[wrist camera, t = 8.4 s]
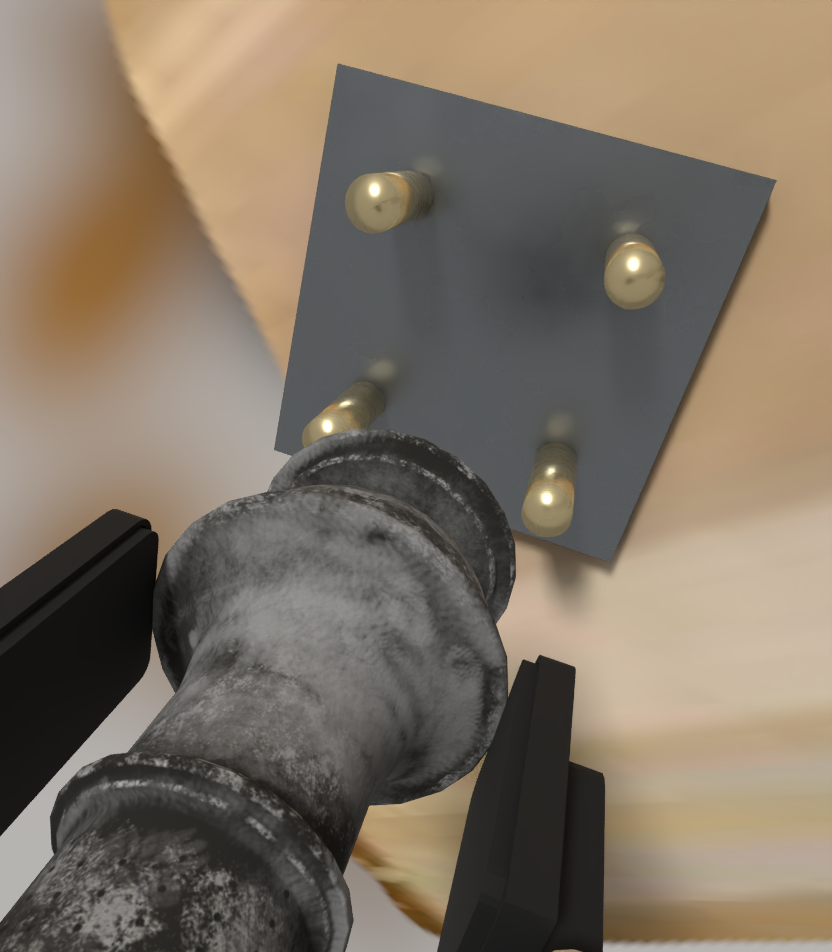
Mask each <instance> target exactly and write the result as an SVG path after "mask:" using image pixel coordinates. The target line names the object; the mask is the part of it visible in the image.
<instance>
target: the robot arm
mask: <svg viewBox="0 0 832 952" xmlns="http://www.w3.org/2000/svg"><path fill="white" fill-rule="evenodd" d="M157 554H158V534H157V533H156V532H154V531H151V524H150V522H149V521H148V520H147V519H144V518H141V517H138V516H135V515H132V514H129V513H127V512H124V511H121V510H118V509H112V510H110V511H108V512H107V513H105V514H104V515H102V516H101V517H99V518H98V519H97V520H95V521H94V522H92V523H91V524H90V525H89V526H87V527H86V528H84V529H83V530H81V531H80V532H78V533H77V534H76V535H74V536H73V537H71V538H70V539H69V540H67V541H66V542H64V543H63V544H62V545H60V546H59V547H57V548H56V549H55V550H53V551H52V552H50V553H49V554H47V555H46V556H45V557H43V558H42V559H41V560H39V561H38V562H36V563H35V564H34V565H32V566H31V567H29V568H28V569H26V570H25V571H24V572H22V573H21V574H19V575H18V576H16V577H15V578H14V579H12V580H11V581H9V582H8V583H7V584H5V585H4V586H3V587H1V588H0V836H1V835H2V834H3V833H4V831H5V830H6V829H7V828H8V827H9V826H10V825H11V824H12V823H13V821H14V820H15V819H16V818H17V817H18V816H19V815H20V814H21V812H22V811H23V810H24V809H25V808H26V807H27V806H28V805H29V803H30V802H31V801H32V800H33V799H34V798H35V797H36V796H37V795H38V793H39V792H40V791H41V790H42V789H43V788H44V787H45V785H46V784H47V783H48V782H49V781H50V780H51V779H52V778H53V777H54V776H55V775H56V773H57V772H58V771H59V770H60V769H61V768H62V767H63V765H64V764H65V763H66V762H67V761H68V760H69V759H70V757H72V755H73V754H74V753H75V752H76V751H77V750H78V749H79V748H80V747H81V745H82V744H83V743H84V742H85V741H86V740H87V739H88V738H89V737H90V735H91V734H92V733H93V732H94V731H95V730H96V729H97V728H98V727H99V725H100V724H101V723H102V722H103V721H104V720H105V718H107V716H108V715H109V714H110V713H111V712H112V711H113V710H114V709H115V708H116V706H117V705H118V704H119V703H120V702H121V701H122V700H123V699H124V697H125V696H126V695H127V694H128V693H129V692H130V691H131V690H132V688H133V687H134V686H135V685H136V684H137V683H138V682H139V681H140V679H141V678H142V677H143V675H144V673H145V671H146V669H147V667H148V664H149V660H150V653H151V652H150V651H151V638H152V615H153V592H154V587H155V583H156V569H157ZM575 674H576V669H575V667H573V666H570V665H568V664H565V663H562V662H559V661H556V660H553V659H550V658H547V657H544V656H542V655H539V657H538V658H537V660H536V663H532V662H529V661H526V660H523V661H522V663H521V665H520V668H519V670H518V673H517V676H516V678H515V681H514V684H513V686H512V689H511V691H510V694H509V697H508V699H507V702H506V705H505V708H504V711H503V713H502V716H501V719H500V721H499V724H498V727H497V729H496V732H495V735H494V738H493V740H492V743H491V745H490V747H489V750H488V752H487V755H486V757H485V760H484V763H483V765H482V768H481V771H480V773H479V776H478V779H477V781H476V784H475V787H474V791H473V794H472V798H471V802H470V806H469V811H468V815H467V820H466V824H465V829H464V833H463V838H462V842H461V847H460V851H459V856H458V860H457V865H456V869H455V874H454V878H453V883H452V887H451V892H450V896H449V901H448V905H447V910H446V914H445V919H444V923H443V928H442V932H441V937H440V941H439V946H438V950H437V952H603V895H604V826H605V779H604V776H603V773H600V772H597V771H595V770H592V769H589V768H586V767H584V766H581V765H578V764H575V763H573V762H570V761H569V755H570V741H571V728H572V715H573V701H574V688H575Z"/></svg>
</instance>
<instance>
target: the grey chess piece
mask: <svg viewBox="0 0 832 952" xmlns="http://www.w3.org/2000/svg"><path fill="white" fill-rule="evenodd" d="M515 578H516V559H515V543H514V540H513V536H512V533H511V530H510V527H509V524H508V521H507V518H506V514H505V512H504V511H503V509H502V507H501V506H500V504H499V503H498V501H497V500H496V498H495V497H494V495H493V494H492V492H491V491H490V489H489V487H488V486H487V484H486V483H485V482H484V481H483V480H482V479H481V478H480V477H479V476H478V475H477V474H475V473H474V472H473V471H472V470H471V469H470V468H469V467H468V466H467V465H466V464H465V463H464V462H462V461H461V460H460V459H459V458H458V457H456V456H455V455H453V454H451V453H449V452H447V451H445V450H444V449H442V448H440V447H438V446H436V445H435V444H433V443H431V442H429V441H427V440H426V439H423V438H419V437H415V436H412V435H408V434H404V433H401V432H397V431H393V430H390V429H352V430H348V431H344V432H340V433H336V434H333V435H329V436H325V437H321V438H320V439H318V440H317V441H315V442H313V443H312V444H310V445H308V446H307V447H305V448H303V449H302V450H300V451H298V452H297V453H295V454H294V455H293V456H292V457H291V458H290V459H289V461H288V462H287V463H286V464H285V465H284V466H283V468H282V469H281V470H280V471H279V472H278V473H277V475H276V476H275V477H274V478H273V480H272V482H271V485H270V487H269V489H268V492H266V493H261V494H257V495H253V496H248V497H244V498H240V499H236V500H232V501H228V502H227V503H225V504H223V505H221V506H220V507H218V508H216V509H215V510H213V511H211V512H210V513H208V514H206V515H205V516H203V517H201V518H200V519H198V520H197V521H195V522H193V523H192V524H191V525H190V526H189V527H188V528H187V530H186V531H185V532H184V533H183V534H182V536H181V537H180V538H179V539H178V540H177V542H176V543H175V544H174V545H173V546H172V548H171V549H170V550H169V551H168V553H167V554H166V555H165V558H164V561H163V563H162V566H161V569H160V572H159V575H158V577H157V580H156V583H155V587H154V592H153V615H152V630H153V634H154V638H155V642H156V646H157V650H158V653H159V658H160V661H161V665H162V669H163V671H164V673H165V675H166V676H167V678H168V680H169V682H170V684H171V686H172V688H173V690H174V692H175V694H174V696H173V697H172V698H171V699H170V701H169V702H168V703H167V704H166V705H165V707H164V708H163V709H162V711H161V712H160V713H159V714H158V715H157V717H156V718H155V719H154V720H153V722H152V723H151V724H150V725H149V726H148V728H147V729H146V730H145V731H144V733H143V734H142V735H141V736H140V738H139V739H138V740H137V741H136V743H135V744H134V745H133V746H132V748H131V749H130V750H129V751H128V752H127V753H122V754H113V755H109V756H106V757H104V758H102V759H100V760H97V761H95V762H93V763H91V764H89V765H86V766H84V767H82V768H81V769H80V770H79V771H78V772H77V773H76V774H75V776H74V777H73V778H72V779H71V780H70V781H69V782H68V783H67V784H66V785H65V786H64V787H63V788H62V789H61V791H59V793H58V796H57V799H56V801H55V804H54V807H53V810H52V813H51V816H50V824H51V845H52V850H53V853H54V856H53V857H52V858H51V859H50V861H49V862H48V863H47V864H46V866H45V867H44V868H43V870H42V871H41V872H40V873H39V875H38V876H37V877H36V878H35V880H34V881H33V882H32V883H31V885H30V886H29V887H28V888H27V890H26V891H25V892H24V893H23V895H22V896H21V897H20V898H19V900H18V901H17V902H16V903H15V905H14V906H13V907H12V909H11V910H10V911H9V912H8V914H7V915H6V916H5V917H4V918H3V920H2V921H1V922H0V952H345V950H346V947H347V944H348V940H349V936H350V932H351V928H352V924H353V913H352V906H351V900H350V892H349V888H348V886H347V884H346V882H345V880H344V878H343V874H344V872H345V869H346V866H347V864H348V861H349V858H350V856H351V853H352V850H353V848H354V845H355V842H356V840H357V837H358V834H359V831H360V829H361V826H362V823H363V821H364V818H365V815H366V813H367V810H368V807H369V806H371V805H388V804H402V803H405V802H408V801H411V800H415V799H418V798H421V797H424V796H428V795H431V794H434V793H437V792H441V791H442V790H444V789H445V788H447V787H448V786H450V785H451V784H453V783H454V782H456V781H457V780H459V779H460V778H462V777H463V776H465V775H466V774H468V773H469V772H471V771H473V769H474V768H475V767H476V765H477V764H478V763H479V761H480V760H481V759H482V758H483V756H484V755H485V754H486V752H487V751H488V750H489V747H490V745H491V743H492V740H493V738H494V735H495V732H496V729H497V727H498V724H499V721H500V719H501V716H502V713H503V711H504V708H505V705H506V702H507V699H508V671H507V655H506V652H505V650H504V647H503V644H502V641H501V638H500V635H499V632H498V629H497V626H496V623H497V622H498V620H499V619H500V617H501V616H502V614H503V613H504V612H505V610H506V609H507V605H508V602H509V599H510V595H511V592H512V588H513V585H514V582H515Z"/></svg>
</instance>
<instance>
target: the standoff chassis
mask: <svg viewBox="0 0 832 952" xmlns="http://www.w3.org/2000/svg"><path fill="white" fill-rule="evenodd" d="M776 181H777V180H773V179H770V178H766V177H762V176H758V175H755V174H751V173H747V172H743V171H740V170H736V169H732V168H728V167H725V166H721V165H717V164H713V163H710V162H706V161H702V160H698V159H695V158H691V157H687V156H683V155H680V154H676V153H672V152H668V151H665V150H661V149H657V148H653V147H649V146H646V145H642V144H638V143H634V142H631V141H627V140H623V139H619V138H616V137H612V136H608V135H604V134H601V133H597V132H593V131H589V130H586V129H582V128H578V127H574V126H571V125H567V124H563V123H559V122H556V121H552V120H548V119H544V118H541V117H537V116H533V115H529V114H526V113H522V112H518V111H514V110H511V109H507V108H503V107H499V106H496V105H492V104H488V103H484V102H481V101H477V100H473V99H469V98H466V97H462V96H458V95H454V94H451V93H447V92H443V91H439V90H435V89H432V88H428V87H424V86H420V85H417V84H413V83H409V82H405V81H402V80H398V79H394V78H390V77H387V76H383V75H379V74H375V73H372V72H368V71H364V70H360V69H357V68H353V67H349V66H345V65H342V64H338V65H337V71H336V77H335V83H334V89H333V95H332V101H331V107H330V113H329V119H328V126H327V132H326V138H325V144H324V150H323V156H322V162H321V168H320V174H319V180H318V186H317V192H316V199H315V205H314V211H313V217H312V223H311V229H310V235H309V241H308V247H307V253H306V259H305V265H304V271H303V278H302V284H301V290H300V296H299V302H298V308H297V314H296V320H295V326H294V332H293V338H292V344H291V350H290V357H289V363H288V369H287V375H286V381H285V387H284V393H283V399H282V406H281V411H280V418H279V423H278V429H277V436H276V442H275V448H274V450H276V451H279V452H282V453H285V454H288V455H291V456H293V455H294V454H295V453H297V452H298V451H300V450H302V449H303V448H305V447H307V446H308V445H310V444H312V443H313V442H315V441H317V440H318V439H320V438H321V437H325V436H329V435H333V434H336V433H340V432H344V431H348V430H352V429H390V430H393V431H397V432H401V433H404V434H408V435H412V436H415V437H419V438H423V439H426V440H427V441H429V442H431V443H433V444H435V445H436V446H438V447H440V448H442V449H444V450H445V451H447V452H449V453H451V454H453V455H455V456H456V457H458V458H459V459H460V460H461V461H462V462H464V463H465V464H466V465H467V466H468V467H469V468H470V469H471V470H472V471H473V472H474V473H475V474H477V475H478V476H479V477H480V478H481V479H482V480H483V481H484V482H485V483H486V484H487V486H488V487H489V489H490V491H491V492H492V494H493V495H494V497H495V498H496V500H497V501H498V503H499V504H500V506H501V507H502V509H503V511H504V512H505V514H506V518H507V521H508V524H509V527H510V529H512V530H515V531H518V532H521V533H524V534H527V535H530V536H533V537H536V538H539V539H542V540H545V541H548V542H551V543H554V544H557V545H560V546H563V547H566V548H569V549H572V550H575V551H578V552H581V553H584V554H587V555H590V556H593V557H596V558H599V559H601V560H604V561H607V562H611V560H612V557H613V555H614V553H615V550H616V548H617V546H618V544H619V541H620V539H621V537H622V534H623V532H624V530H625V528H626V525H627V523H628V521H629V518H630V516H631V514H632V511H633V509H634V507H635V505H636V502H637V500H638V498H639V495H640V493H641V491H642V488H643V486H644V484H645V482H646V479H647V477H648V475H649V472H650V470H651V468H652V466H653V463H654V461H655V459H656V456H657V454H658V452H659V449H660V447H661V445H662V443H663V440H664V438H665V436H666V433H667V431H668V429H669V426H670V424H671V422H672V420H673V417H674V415H675V413H676V410H677V408H678V406H679V404H680V401H681V399H682V397H683V394H684V392H685V390H686V387H687V385H688V383H689V381H690V378H691V376H692V374H693V371H694V369H695V367H696V364H697V362H698V360H699V358H700V355H701V353H702V351H703V348H704V346H705V344H706V342H707V339H708V337H709V335H710V332H711V330H712V328H713V325H714V323H715V321H716V319H717V316H718V314H719V312H720V309H721V307H722V305H723V303H724V300H725V298H726V296H727V293H728V291H729V289H730V286H731V284H732V282H733V280H734V277H735V275H736V273H737V270H738V268H739V266H740V263H741V261H742V259H743V257H744V254H745V252H746V250H747V247H748V245H749V243H750V241H751V238H752V236H753V234H754V231H755V229H756V227H757V224H758V222H759V220H760V218H761V215H762V213H763V211H764V208H765V206H766V204H767V201H768V199H769V197H770V195H771V192H772V190H773V188H774V185H775V183H776Z"/></svg>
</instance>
